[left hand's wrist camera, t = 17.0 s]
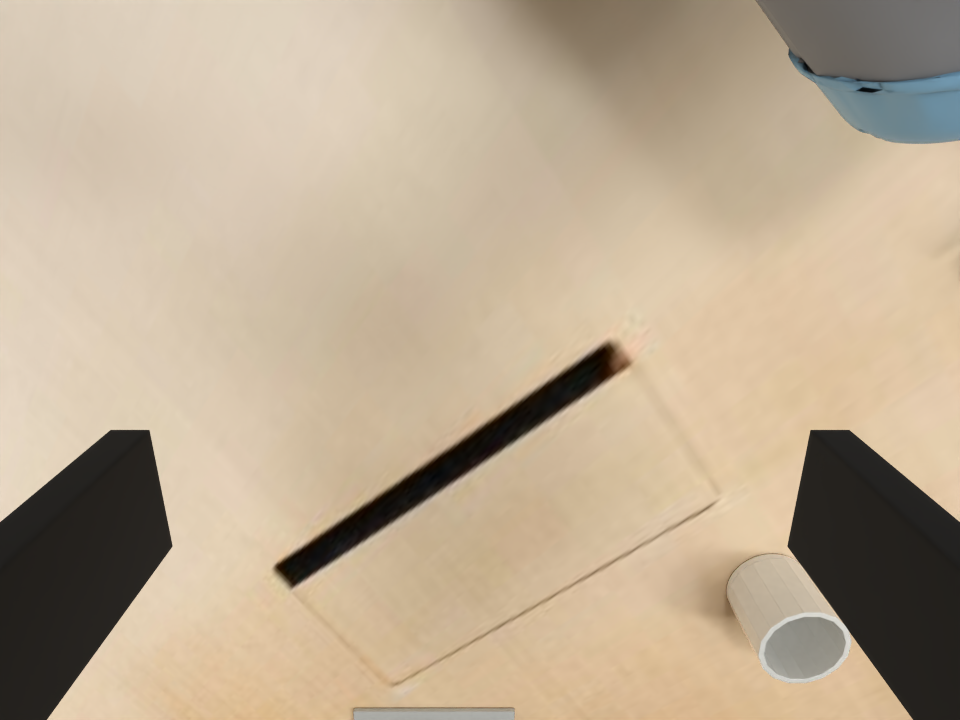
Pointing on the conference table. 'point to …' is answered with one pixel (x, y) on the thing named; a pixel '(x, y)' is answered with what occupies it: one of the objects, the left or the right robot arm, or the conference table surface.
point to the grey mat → (433, 713)
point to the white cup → (787, 619)
